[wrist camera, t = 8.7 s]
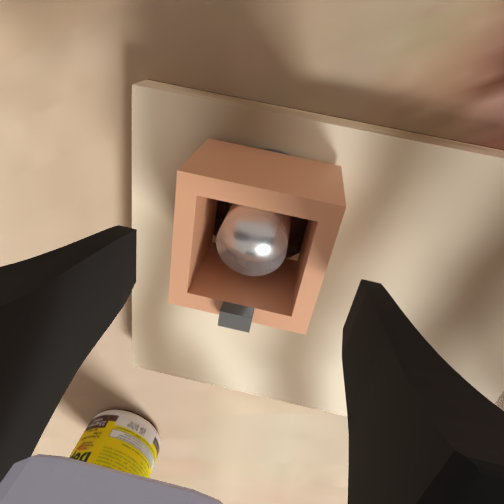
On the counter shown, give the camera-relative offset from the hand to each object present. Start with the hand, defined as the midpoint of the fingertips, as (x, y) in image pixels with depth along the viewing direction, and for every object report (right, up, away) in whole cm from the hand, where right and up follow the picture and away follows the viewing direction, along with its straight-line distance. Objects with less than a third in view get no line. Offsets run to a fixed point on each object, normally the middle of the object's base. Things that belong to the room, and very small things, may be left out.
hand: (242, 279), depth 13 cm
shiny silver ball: (+1, +4, +6) cm, 7 cm away
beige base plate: (+4, -1, +8) cm, 9 cm away
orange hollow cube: (+1, +3, +5) cm, 5 cm away
